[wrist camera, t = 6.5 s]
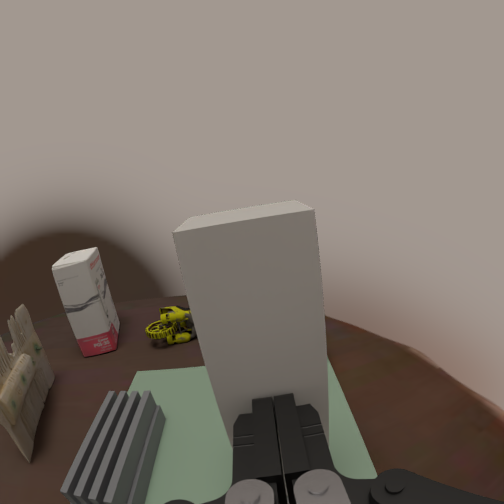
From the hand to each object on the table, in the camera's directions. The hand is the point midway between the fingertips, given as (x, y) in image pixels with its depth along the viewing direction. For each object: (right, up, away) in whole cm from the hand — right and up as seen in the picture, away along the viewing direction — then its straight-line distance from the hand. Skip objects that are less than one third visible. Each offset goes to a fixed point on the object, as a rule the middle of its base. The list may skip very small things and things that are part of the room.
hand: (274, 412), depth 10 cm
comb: (-21, -10, +11) cm, 26 cm away
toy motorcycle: (-7, -4, +26) cm, 28 cm away
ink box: (-21, -6, +27) cm, 34 cm away
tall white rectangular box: (+1, -6, +6) cm, 8 cm away
